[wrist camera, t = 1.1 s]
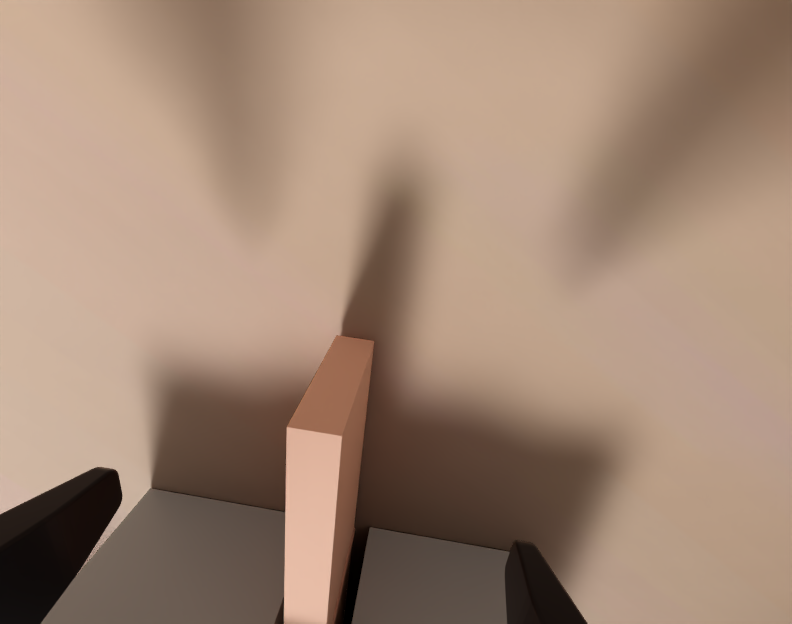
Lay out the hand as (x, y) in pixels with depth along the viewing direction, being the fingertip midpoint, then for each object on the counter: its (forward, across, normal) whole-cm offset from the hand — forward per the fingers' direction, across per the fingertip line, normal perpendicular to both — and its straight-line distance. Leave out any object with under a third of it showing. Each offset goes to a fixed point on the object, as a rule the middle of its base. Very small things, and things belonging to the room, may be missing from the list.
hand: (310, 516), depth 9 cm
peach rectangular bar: (+5, 0, +5) cm, 7 cm away
